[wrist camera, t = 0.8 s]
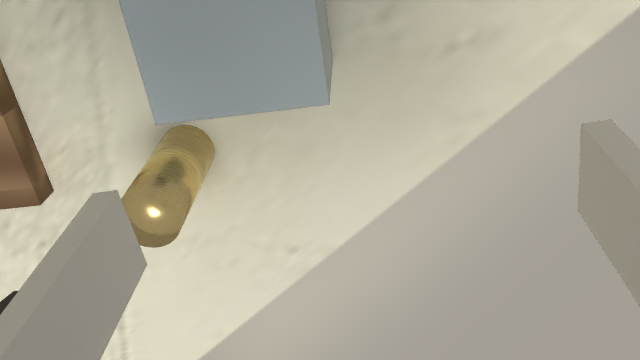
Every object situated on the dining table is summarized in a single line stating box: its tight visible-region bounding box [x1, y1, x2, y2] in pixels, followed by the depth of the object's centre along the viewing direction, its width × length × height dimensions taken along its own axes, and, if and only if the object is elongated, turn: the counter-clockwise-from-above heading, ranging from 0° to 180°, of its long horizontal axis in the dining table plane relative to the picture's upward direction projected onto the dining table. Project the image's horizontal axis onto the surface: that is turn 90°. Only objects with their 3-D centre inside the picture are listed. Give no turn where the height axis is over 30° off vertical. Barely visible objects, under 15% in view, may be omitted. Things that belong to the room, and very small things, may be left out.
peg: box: [121, 125, 214, 247], centre depth 36 cm, size 4×4×9 cm
